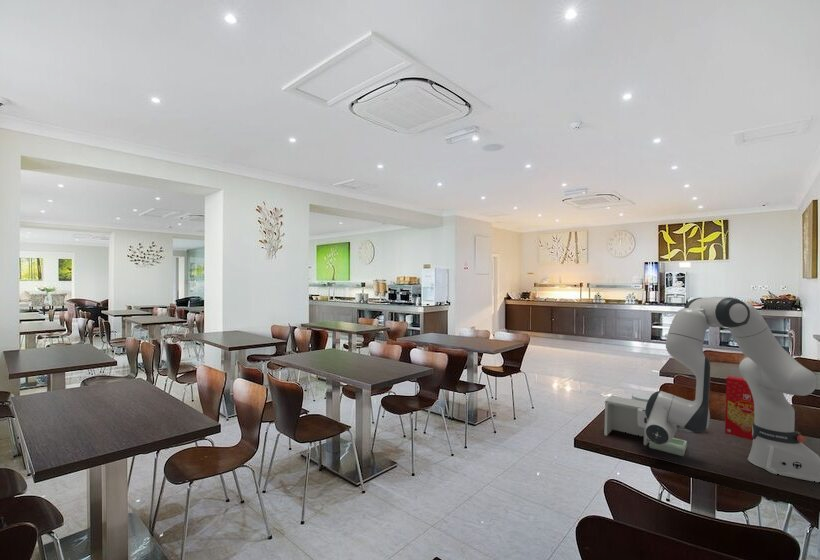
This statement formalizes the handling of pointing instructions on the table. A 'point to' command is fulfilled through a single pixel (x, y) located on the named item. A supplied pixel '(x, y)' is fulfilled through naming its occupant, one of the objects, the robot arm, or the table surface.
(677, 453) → the tray
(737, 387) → the food packaging
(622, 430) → the bay
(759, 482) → the table surface
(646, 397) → the white rounded slab
